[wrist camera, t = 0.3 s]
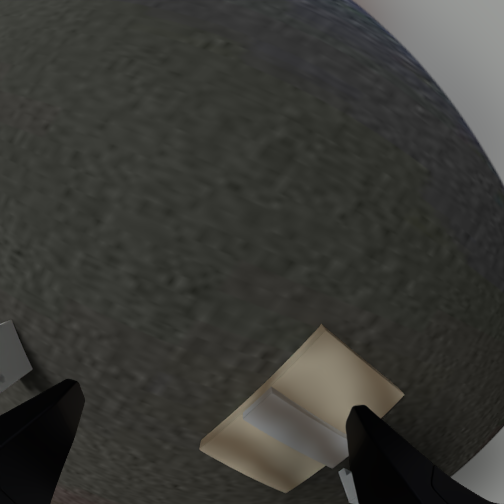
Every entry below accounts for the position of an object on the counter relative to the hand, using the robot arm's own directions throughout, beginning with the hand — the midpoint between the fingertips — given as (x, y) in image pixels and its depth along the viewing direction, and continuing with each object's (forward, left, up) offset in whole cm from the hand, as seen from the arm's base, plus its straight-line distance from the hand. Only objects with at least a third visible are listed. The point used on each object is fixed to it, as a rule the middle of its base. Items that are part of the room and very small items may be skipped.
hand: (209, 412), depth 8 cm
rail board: (-5, -12, -15) cm, 20 cm away
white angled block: (-21, +14, -15) cm, 30 cm away
